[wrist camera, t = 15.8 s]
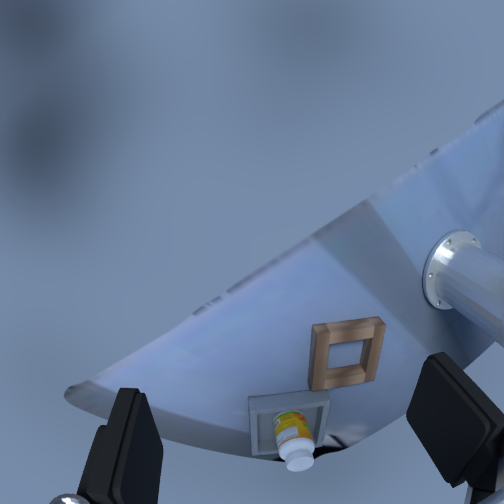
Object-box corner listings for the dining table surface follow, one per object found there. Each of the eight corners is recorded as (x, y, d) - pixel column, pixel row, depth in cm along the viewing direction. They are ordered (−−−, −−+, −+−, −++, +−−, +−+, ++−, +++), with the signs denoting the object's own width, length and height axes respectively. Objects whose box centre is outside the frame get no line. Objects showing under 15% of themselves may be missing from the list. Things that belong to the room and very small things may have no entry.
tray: (325, 387, 45) (330, 400, 42) (317, 434, 48) (321, 446, 45) (248, 396, 44) (249, 410, 41) (250, 443, 47) (252, 455, 44)
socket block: (378, 316, 42) (386, 324, 39) (368, 370, 45) (374, 380, 42) (312, 324, 41) (317, 334, 38) (307, 380, 44) (311, 391, 41)
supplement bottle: (308, 422, 46) (322, 466, 37) (278, 433, 46) (288, 477, 37) (299, 404, 44) (314, 450, 35) (267, 415, 45) (276, 462, 35)
